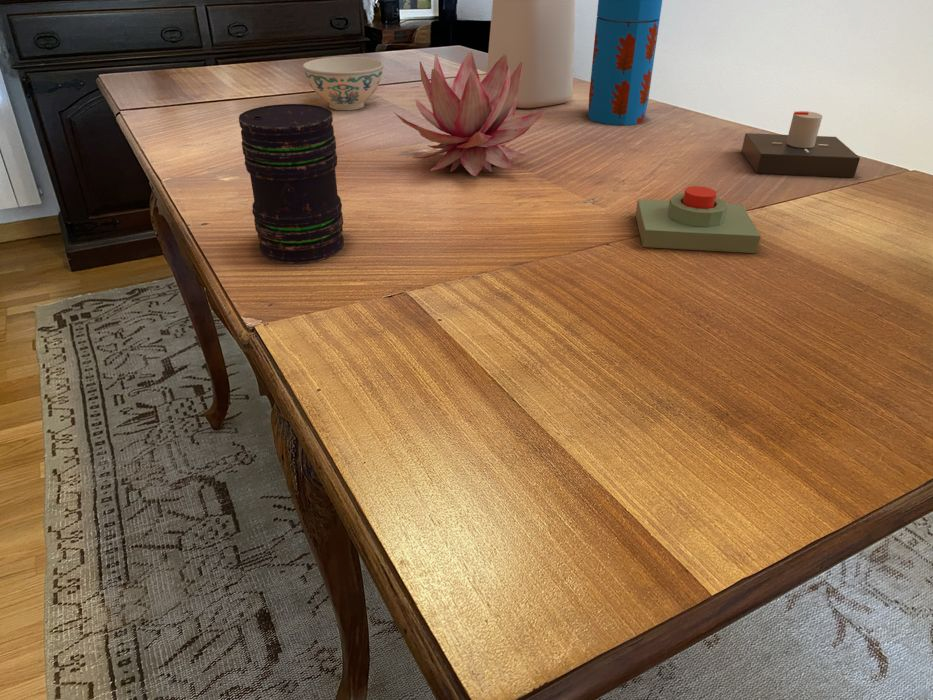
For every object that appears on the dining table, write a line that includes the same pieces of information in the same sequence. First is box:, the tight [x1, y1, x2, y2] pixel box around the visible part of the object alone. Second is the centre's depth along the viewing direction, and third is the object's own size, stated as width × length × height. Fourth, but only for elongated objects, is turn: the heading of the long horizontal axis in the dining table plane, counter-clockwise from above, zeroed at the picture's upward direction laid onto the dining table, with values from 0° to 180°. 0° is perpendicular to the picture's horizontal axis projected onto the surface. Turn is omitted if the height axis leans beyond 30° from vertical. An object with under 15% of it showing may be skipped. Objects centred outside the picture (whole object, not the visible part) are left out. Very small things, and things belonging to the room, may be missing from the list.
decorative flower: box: [394, 51, 547, 177], centre depth 103 cm, size 21×21×15 cm
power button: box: [683, 185, 717, 209], centre depth 84 cm, size 4×4×2 cm
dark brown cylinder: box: [238, 103, 345, 265], centre depth 78 cm, size 10×10×15 cm
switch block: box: [635, 192, 762, 254], centre depth 85 cm, size 13×10×4 cm
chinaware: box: [302, 56, 384, 111], centre depth 136 cm, size 15×15×8 cm
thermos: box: [587, 0, 663, 126], centre depth 125 cm, size 11×11×25 cm
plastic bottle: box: [485, 0, 576, 109], centre depth 136 cm, size 15×15×28 cm
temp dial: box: [786, 110, 823, 148], centre depth 107 cm, size 4×4×5 cm
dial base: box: [741, 132, 861, 178], centre depth 109 cm, size 14×11×3 cm
